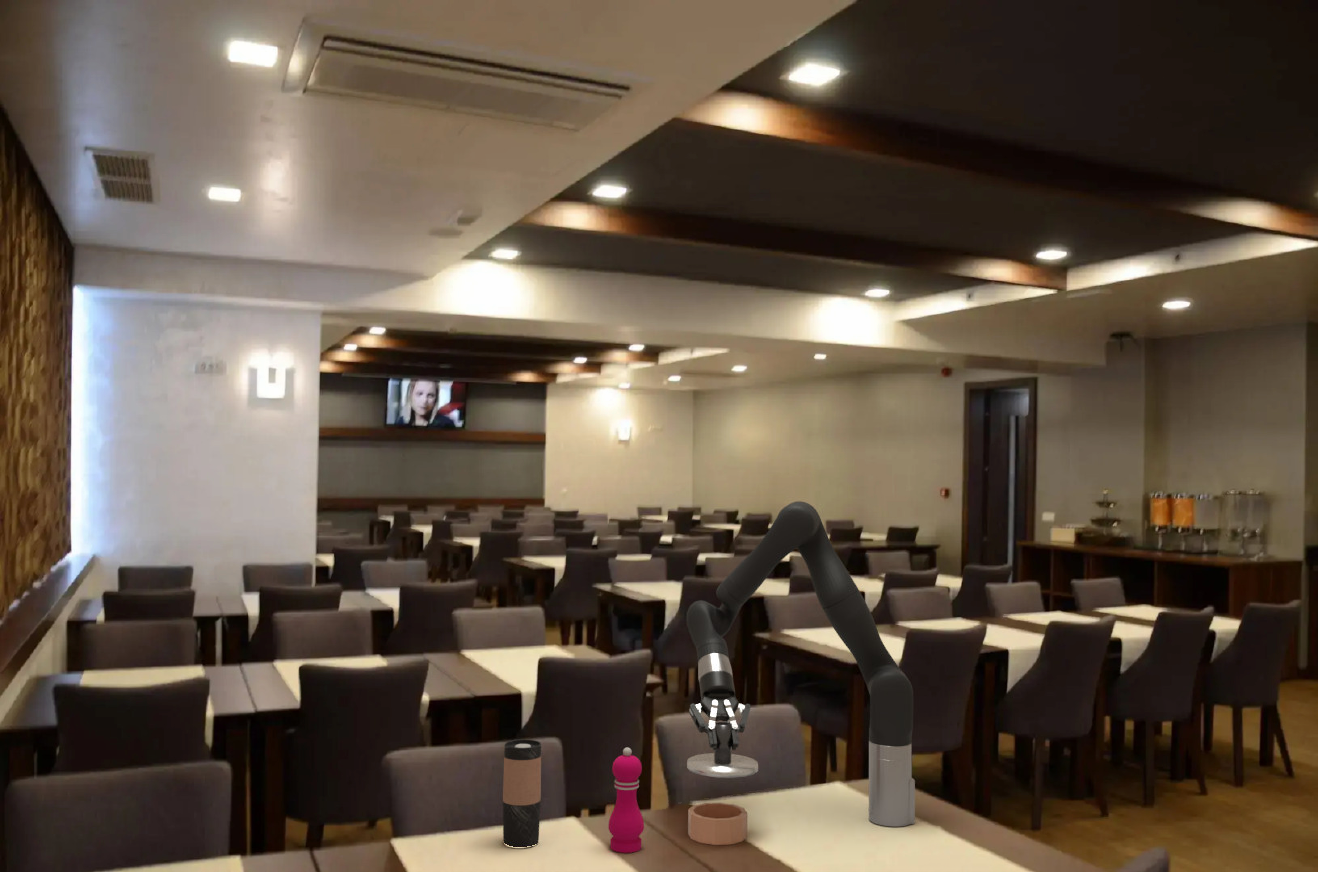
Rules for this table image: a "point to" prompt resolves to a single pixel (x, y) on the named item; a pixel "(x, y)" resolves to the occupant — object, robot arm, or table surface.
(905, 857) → the table surface
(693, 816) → the terracotta bowl
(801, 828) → the table surface
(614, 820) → the pepper mill
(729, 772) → the steel lid
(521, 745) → the travel mug
